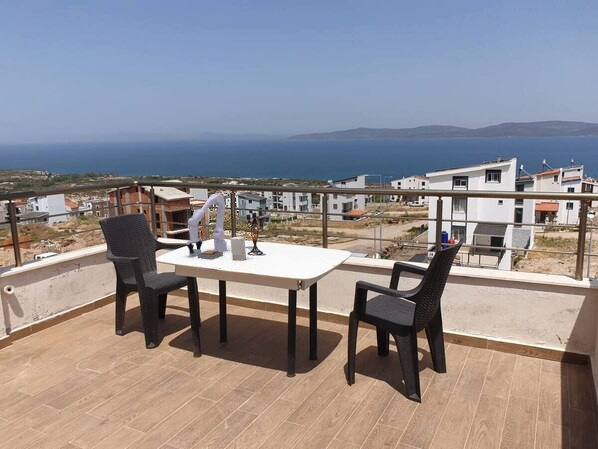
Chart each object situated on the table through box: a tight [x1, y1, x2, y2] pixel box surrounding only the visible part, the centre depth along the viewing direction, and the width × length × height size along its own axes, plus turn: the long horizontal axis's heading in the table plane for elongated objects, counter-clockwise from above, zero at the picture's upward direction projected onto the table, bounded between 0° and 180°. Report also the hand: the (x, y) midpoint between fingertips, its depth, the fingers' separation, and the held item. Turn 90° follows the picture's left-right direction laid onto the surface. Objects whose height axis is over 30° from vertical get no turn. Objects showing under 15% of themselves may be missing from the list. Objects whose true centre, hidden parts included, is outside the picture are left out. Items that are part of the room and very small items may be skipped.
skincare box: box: [230, 236, 247, 261], centre depth 305 cm, size 8×7×16 cm
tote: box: [197, 251, 224, 261], centre depth 313 cm, size 13×13×4 cm
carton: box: [188, 248, 202, 257], centre depth 319 cm, size 5×7×5 cm
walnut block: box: [201, 249, 218, 256], centre depth 312 cm, size 8×8×4 cm
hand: (195, 252), depth 319 cm, fingers open, 7 cm apart
